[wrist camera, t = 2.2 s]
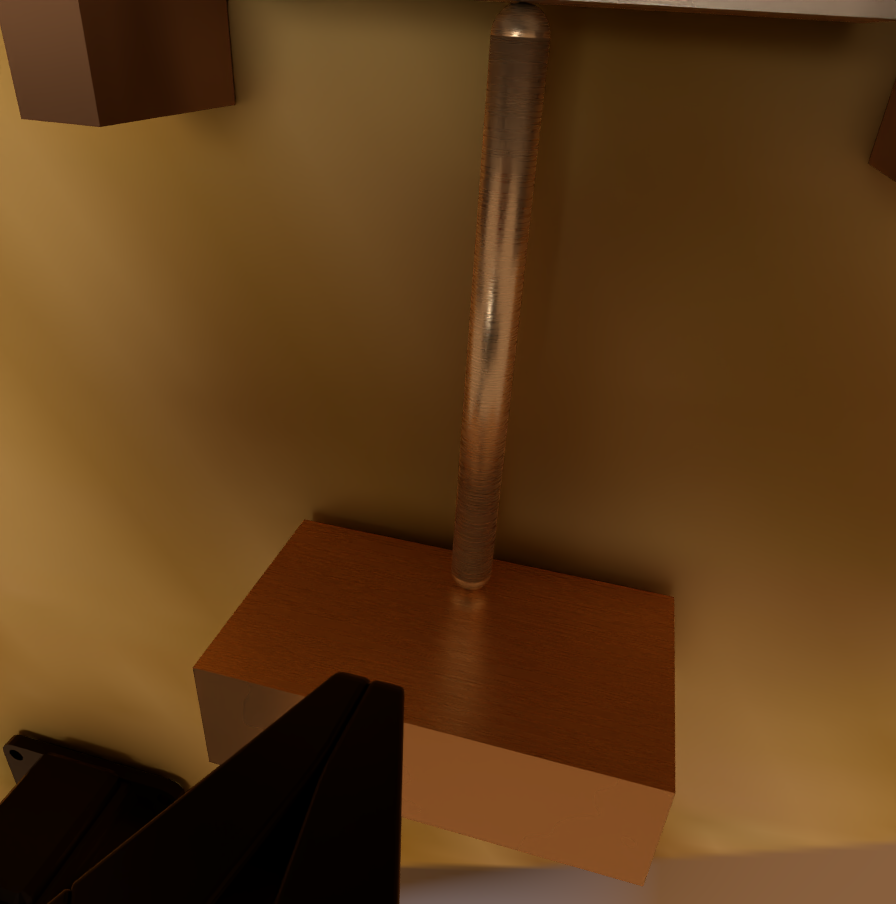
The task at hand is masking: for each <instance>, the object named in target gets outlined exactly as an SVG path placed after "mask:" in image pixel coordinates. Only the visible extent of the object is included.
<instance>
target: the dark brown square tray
mask: <svg viewBox="0 0 896 904" xmlns="http://www.w3.org/2000/svg"><path fill="white" fill-rule="evenodd" d="M0 25H1V30H2V34H3V39H4V43H5V48H6V52H7V57H8V61H9V66H10V70H11V75H12V79H13V84H14V88H15V93H16V97H17V101H18V106H19V110H20V115H21V119H28V120H38V121H48V122H57V123H67V124H77V125H86V126H96V127H103V126H109V125H115V124H121V123H127V122H133V121H139V120H145V119H151V118H157V117H163V116H170V115H176V114H182V113H188V112H194V111H200V110H206V109H212V108H218V107H224V106H230V105H235V96H234V85H233V73H232V61H231V50H230V38H229V26H228V15H227V3H226V0H0ZM868 164H870V165H871V166H873V167H874V168H876V169H877V170H879V171H880V172H882V173H883V174H885V175H886V176H888V177H889V178H891V179H892V180H894V181H895V182H896V81H895V84H894V87H893V90H892V93H891V96H890V99H889V102H888V105H887V108H886V111H885V114H884V117H883V120H882V123H881V126H880V129H879V132H878V135H877V138H876V142H875V145H874V148H873V151H872V154H871V157H870V160H869V163H868Z"/></svg>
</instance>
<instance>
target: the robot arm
mask: <svg viewBox="0 0 896 904" xmlns="http://www.w3.org/2000/svg"><path fill="white" fill-rule="evenodd" d="M404 697H405V692H404V689H403V687H401V686H399V685H395V684H391V683H387V682H383V681H379V680H375V681H372V682H370V680H369V679H368V678H366V677H363V676H359V675H355V674H351V673H347V672H338V673H335V674H333V675H332V676H331V677H329V678H328V679H327V680H326V681H324V682H323V683H322V684H321V685H319V686H318V687H317V688H316V689H314V690H313V691H312V692H311V693H309V694H308V695H307V696H306V697H305V698H303V699H302V700H301V701H300V702H298V703H297V704H296V705H295V706H293V707H292V708H291V709H290V710H288V711H287V712H286V713H285V714H283V715H282V716H281V717H280V718H278V719H277V720H276V721H275V722H273V723H272V724H271V725H270V726H268V727H267V728H266V729H265V730H263V731H262V732H261V733H260V734H258V735H257V736H256V737H255V738H253V739H252V740H251V741H250V742H248V743H247V744H246V745H245V746H243V747H242V748H241V749H240V750H238V751H237V752H236V753H235V754H233V755H232V756H231V757H230V758H228V759H227V760H226V761H225V762H223V763H222V764H221V765H220V766H218V767H217V768H216V769H215V770H213V771H212V772H211V773H210V774H208V775H207V776H206V777H205V778H203V779H202V780H201V781H200V782H198V783H197V784H196V785H195V786H194V787H192V788H191V789H190V790H189V791H187V792H186V793H185V791H184V789H183V788H182V787H181V786H180V785H179V784H178V783H176V782H175V781H172V780H170V779H167V778H164V777H160V776H157V775H153V774H150V773H147V772H143V771H140V770H137V769H133V768H130V767H126V766H123V765H120V764H116V763H113V762H110V761H106V760H103V759H99V758H96V757H93V756H89V755H86V754H83V753H79V752H76V751H72V750H69V749H66V748H62V747H59V746H56V745H52V744H49V743H45V742H42V741H39V740H35V739H32V738H29V737H25V736H22V735H14V736H13V737H12V738H11V739H10V740H9V741H8V742H7V743H6V744H5V745H4V747H3V751H4V754H5V756H6V759H7V761H8V764H9V766H10V769H11V771H12V774H13V777H14V779H15V782H16V785H15V787H14V788H13V789H12V790H11V791H10V792H9V793H8V795H7V796H6V797H5V798H4V799H3V800H2V802H1V803H0V904H399V897H400V895H399V894H400V858H401V817H402V777H403V737H404Z"/></svg>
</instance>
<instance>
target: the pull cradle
mask: <svg viewBox="0 0 896 904" xmlns="http://www.w3.org/2000/svg"><path fill="white" fill-rule="evenodd" d="M476 1H493V2H510V3H512V4H510V5H508V6H506V7H505V8H504V9H503V10H501V11H500V13H499V14H498V15H497V17H496V18H495V20H494V22H493V25H492V28H491V35H490V49H489V62H488V76H487V90H486V103H485V117H484V130H483V144H482V158H481V171H480V185H479V198H478V212H477V226H476V239H475V253H474V266H473V280H472V294H471V307H470V321H469V335H468V348H467V362H466V375H465V389H464V403H463V416H462V430H461V443H460V457H459V471H458V484H457V498H456V511H455V525H454V539H453V550H448V549H443V548H438V547H434V546H429V545H424V544H419V543H415V542H410V541H405V540H400V539H395V538H391V537H386V536H381V535H376V534H372V533H367V532H362V531H357V530H353V529H348V528H343V527H338V526H334V525H329V524H324V523H319V522H315V521H310V520H305V519H304V521H303V522H302V523H301V525H300V526H299V527H298V529H297V530H296V531H295V533H294V534H293V535H292V537H291V538H290V539H289V541H288V542H287V543H286V545H285V546H284V547H283V548H282V550H281V551H280V552H279V554H278V555H277V556H276V558H275V559H274V560H273V562H272V563H271V564H270V566H269V567H268V568H267V570H266V571H265V572H264V574H263V575H262V576H261V578H260V579H259V580H258V582H257V583H256V584H255V586H254V587H253V588H252V590H251V591H250V592H249V594H248V595H247V596H246V598H245V599H244V600H243V602H242V603H241V604H240V606H239V607H238V608H237V609H236V611H235V612H234V613H233V615H232V616H231V617H230V619H229V620H228V621H227V623H226V624H225V625H224V627H223V628H222V629H221V631H220V632H219V633H218V635H217V636H216V637H215V639H214V640H213V641H212V643H211V644H210V645H209V647H208V648H207V649H206V651H205V652H204V653H203V655H202V656H201V657H200V659H199V660H198V661H197V663H196V664H195V665H194V667H193V671H194V677H195V683H196V688H197V694H198V700H199V705H200V711H201V717H202V723H203V728H204V734H205V740H206V745H207V751H208V757H209V762H212V763H216V764H219V765H221V764H222V763H223V762H225V761H226V760H227V759H228V758H230V757H231V756H232V755H233V754H235V753H236V752H237V751H238V750H240V749H241V748H242V747H243V746H245V745H246V744H247V743H248V742H250V741H251V740H252V739H253V738H255V737H256V736H257V735H258V734H260V733H261V732H262V731H263V730H265V729H266V728H267V727H268V726H270V725H271V724H272V723H273V722H275V721H276V720H277V719H278V718H280V717H281V716H282V715H283V714H285V713H286V712H287V711H288V710H290V709H291V708H292V707H293V706H295V705H296V704H297V703H298V702H300V701H301V700H302V699H303V698H305V697H306V696H307V695H308V694H309V693H311V692H312V691H313V690H314V689H316V688H317V687H318V686H319V685H321V684H322V683H323V682H324V681H326V680H327V679H328V678H329V677H331V676H332V675H333V674H335V673H338V672H347V673H351V674H355V675H359V676H363V677H366V678H368V679H369V680H370V682H372V681H375V680H379V681H383V682H387V683H391V684H395V685H399V686H401V687H403V689H404V692H405V697H404V737H403V777H402V817H403V818H407V819H410V820H414V821H417V822H421V823H424V824H428V825H431V826H435V827H438V828H442V829H445V830H449V831H452V832H456V833H459V834H462V835H466V836H469V837H473V838H476V839H480V840H483V841H487V842H490V843H494V844H497V845H501V846H504V847H508V848H511V849H515V850H518V851H522V852H525V853H529V854H532V855H535V856H539V857H542V858H546V859H549V860H553V861H556V862H560V863H563V864H567V865H570V866H574V867H577V868H581V869H584V870H588V871H591V872H595V873H598V874H602V875H605V876H609V877H612V878H615V879H619V880H622V881H626V882H629V883H633V884H636V885H640V886H643V885H644V882H645V879H646V877H647V874H648V871H649V868H650V865H651V862H652V859H653V856H654V853H655V851H656V848H657V845H658V842H659V839H660V836H661V833H662V830H663V827H664V825H665V822H666V819H667V816H668V813H669V810H670V807H671V804H672V801H673V799H674V796H675V648H674V597H671V596H667V595H662V594H657V593H652V592H648V591H643V590H638V589H633V588H629V587H624V586H619V585H614V584H610V583H605V582H600V581H595V580H590V579H586V578H581V577H576V576H571V575H567V574H562V573H557V572H552V571H548V570H543V569H538V568H533V567H529V566H524V565H519V564H514V563H510V562H505V561H500V560H495V559H493V554H494V545H495V536H496V527H497V518H498V508H499V499H500V490H501V481H502V472H503V463H504V454H505V445H506V436H507V427H508V418H509V409H510V400H511V390H512V381H513V372H514V363H515V354H516V345H517V336H518V327H519V318H520V309H521V300H522V291H523V281H524V272H525V263H526V254H527V245H528V236H529V227H530V218H531V209H532V200H533V191H534V182H535V172H536V163H537V154H538V145H539V136H540V127H541V118H542V109H543V100H544V91H545V82H546V73H547V64H548V54H549V45H550V26H549V23H548V20H547V18H546V16H545V14H544V13H543V12H542V11H541V9H540V8H538V7H537V6H536V5H534V4H544V5H562V6H579V7H596V8H613V9H630V10H647V11H664V12H681V13H699V14H716V15H733V16H750V17H767V18H784V19H801V20H819V21H836V22H853V23H870V22H889V21H896V0H476Z"/></svg>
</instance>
